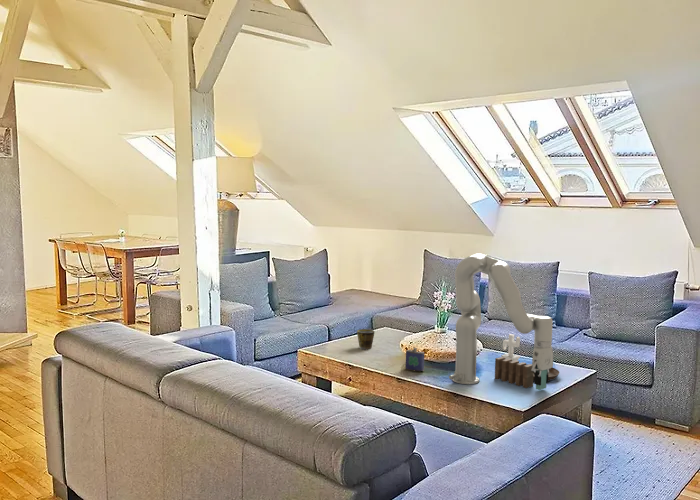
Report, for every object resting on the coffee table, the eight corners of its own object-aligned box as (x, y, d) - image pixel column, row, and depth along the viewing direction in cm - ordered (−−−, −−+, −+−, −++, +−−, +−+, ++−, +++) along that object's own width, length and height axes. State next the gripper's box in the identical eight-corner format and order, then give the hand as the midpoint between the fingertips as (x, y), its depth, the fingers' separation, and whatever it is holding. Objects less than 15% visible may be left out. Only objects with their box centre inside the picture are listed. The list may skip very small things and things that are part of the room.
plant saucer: (548, 385, 293) (548, 378, 293) (507, 376, 307) (507, 370, 306) (566, 376, 309) (566, 369, 308) (526, 368, 322) (526, 361, 322)
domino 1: (504, 378, 304) (505, 357, 303) (498, 379, 301) (498, 359, 300) (501, 377, 305) (501, 356, 304) (494, 378, 302) (495, 358, 301)
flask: (424, 371, 314) (425, 348, 313) (422, 372, 311) (422, 349, 310) (406, 368, 319) (407, 345, 318) (404, 369, 316) (404, 347, 315)
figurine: (506, 359, 338) (507, 331, 336) (522, 363, 331) (523, 334, 329) (498, 361, 333) (499, 333, 331) (514, 365, 326) (515, 337, 324)
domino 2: (511, 380, 301) (512, 359, 300) (504, 381, 297) (505, 361, 297) (507, 379, 302) (508, 358, 301) (501, 380, 299) (502, 360, 298)
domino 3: (518, 382, 298) (519, 361, 297) (511, 383, 294) (512, 362, 293) (514, 381, 299) (515, 360, 298) (508, 382, 296) (509, 362, 295)
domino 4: (525, 384, 294) (526, 363, 294) (519, 386, 291) (519, 364, 290) (522, 383, 296) (522, 362, 295) (515, 385, 293) (516, 363, 292)
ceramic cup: (361, 345, 365) (361, 328, 364) (377, 347, 361) (377, 330, 360) (351, 350, 354) (351, 332, 353) (367, 352, 349) (367, 334, 348)
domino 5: (532, 386, 291) (533, 365, 290) (526, 388, 288) (527, 366, 287) (529, 385, 293) (530, 364, 292) (522, 387, 290) (523, 365, 289)
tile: (535, 388, 284) (536, 367, 283) (542, 386, 287) (543, 365, 286) (539, 390, 283) (540, 368, 282) (546, 387, 286) (547, 366, 285)
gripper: (538, 348, 275) (537, 389, 277) (560, 342, 286) (559, 382, 287) (524, 344, 281) (522, 384, 282) (546, 339, 291) (544, 378, 293)
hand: (541, 383), depth 285 cm, fingers closed on tile, 4 cm apart
